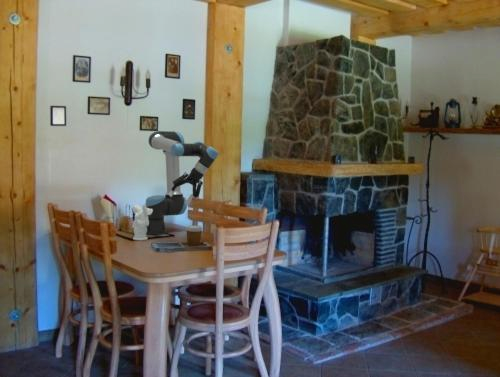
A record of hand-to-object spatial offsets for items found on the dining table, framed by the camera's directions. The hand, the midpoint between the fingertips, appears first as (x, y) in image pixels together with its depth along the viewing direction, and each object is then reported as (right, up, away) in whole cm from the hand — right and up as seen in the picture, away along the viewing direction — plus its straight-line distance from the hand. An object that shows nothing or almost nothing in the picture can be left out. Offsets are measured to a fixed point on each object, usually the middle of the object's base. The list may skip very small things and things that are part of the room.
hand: (178, 199), depth 339 cm
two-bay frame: (+4, -26, -17) cm, 32 cm away
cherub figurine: (-22, -24, +6) cm, 33 cm away
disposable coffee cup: (+11, -27, -15) cm, 32 cm away
